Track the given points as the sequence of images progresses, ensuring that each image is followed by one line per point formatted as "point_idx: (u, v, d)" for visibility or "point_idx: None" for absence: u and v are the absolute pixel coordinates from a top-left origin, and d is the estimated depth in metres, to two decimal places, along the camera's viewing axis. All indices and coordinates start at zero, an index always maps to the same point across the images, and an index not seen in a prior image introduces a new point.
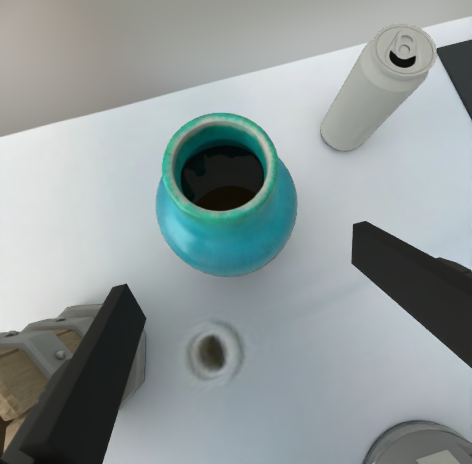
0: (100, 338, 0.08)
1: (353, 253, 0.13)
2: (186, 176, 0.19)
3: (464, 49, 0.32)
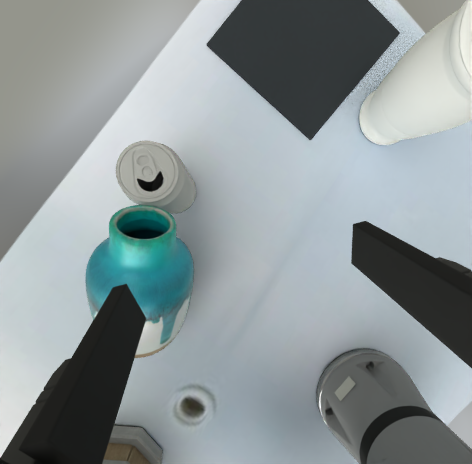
0: (100, 338, 0.08)
1: (353, 253, 0.13)
2: None
3: (231, 29, 0.30)
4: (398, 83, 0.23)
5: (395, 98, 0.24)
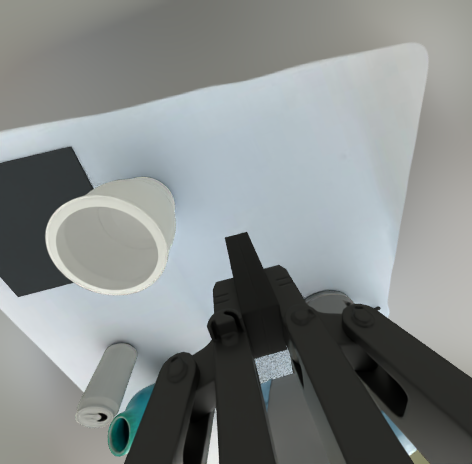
0: (245, 264, 0.11)
1: None
2: None
3: (11, 277, 0.35)
4: None
5: None
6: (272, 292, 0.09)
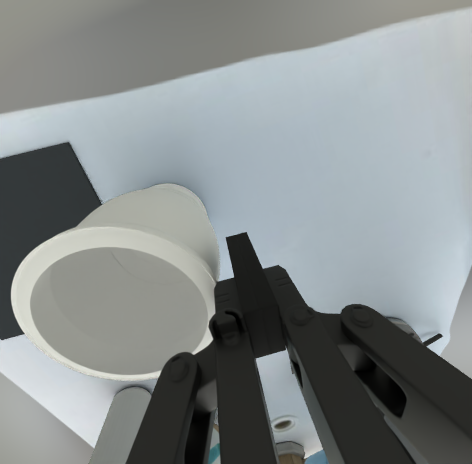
0: (246, 264, 0.11)
1: None
2: None
3: None
4: None
5: None
6: (271, 293, 0.09)
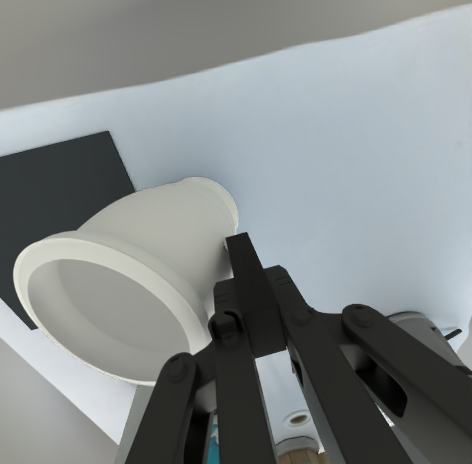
0: (246, 264, 0.11)
1: None
2: None
3: (22, 306, 0.26)
4: None
5: None
6: (272, 293, 0.09)
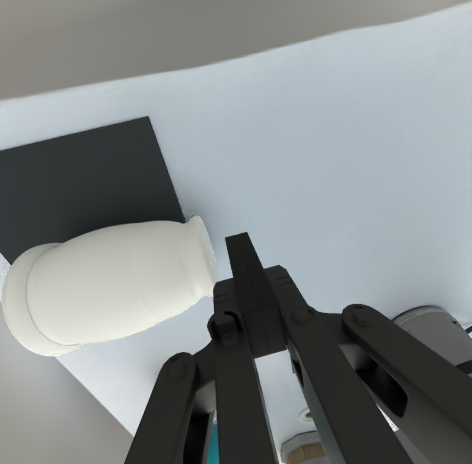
0: (245, 264, 0.11)
1: None
2: None
3: None
4: None
5: None
6: (272, 292, 0.09)
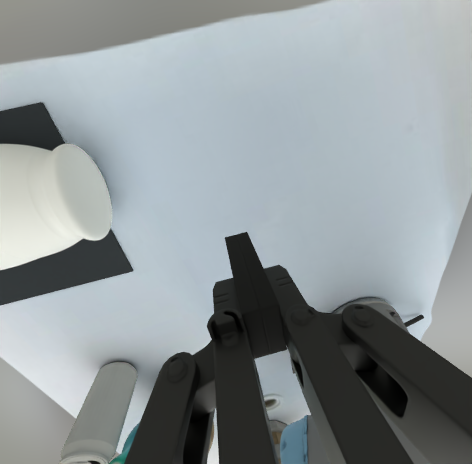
0: (245, 264, 0.11)
1: None
2: None
3: None
4: None
5: None
6: (272, 292, 0.09)
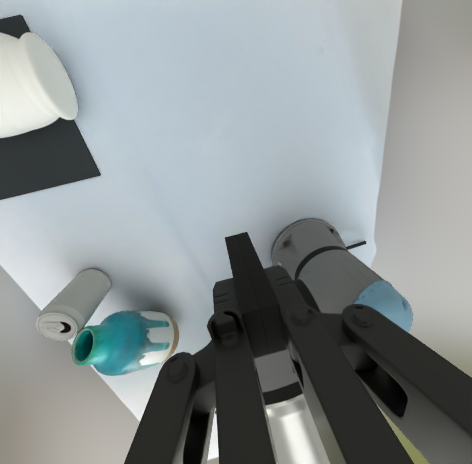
0: (245, 264, 0.11)
1: None
2: None
3: None
4: None
5: (10, 136, 0.27)
6: (272, 293, 0.09)
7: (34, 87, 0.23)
